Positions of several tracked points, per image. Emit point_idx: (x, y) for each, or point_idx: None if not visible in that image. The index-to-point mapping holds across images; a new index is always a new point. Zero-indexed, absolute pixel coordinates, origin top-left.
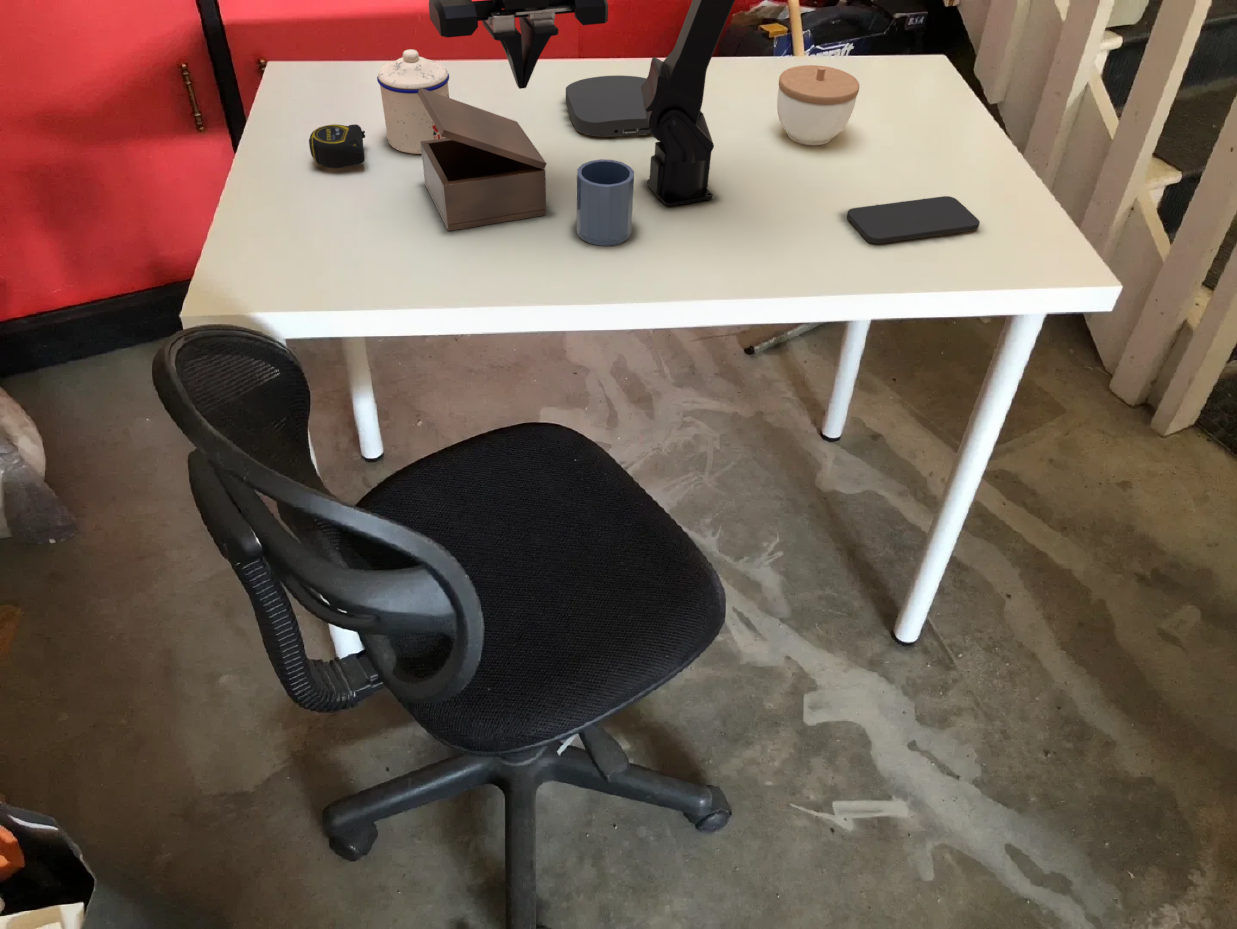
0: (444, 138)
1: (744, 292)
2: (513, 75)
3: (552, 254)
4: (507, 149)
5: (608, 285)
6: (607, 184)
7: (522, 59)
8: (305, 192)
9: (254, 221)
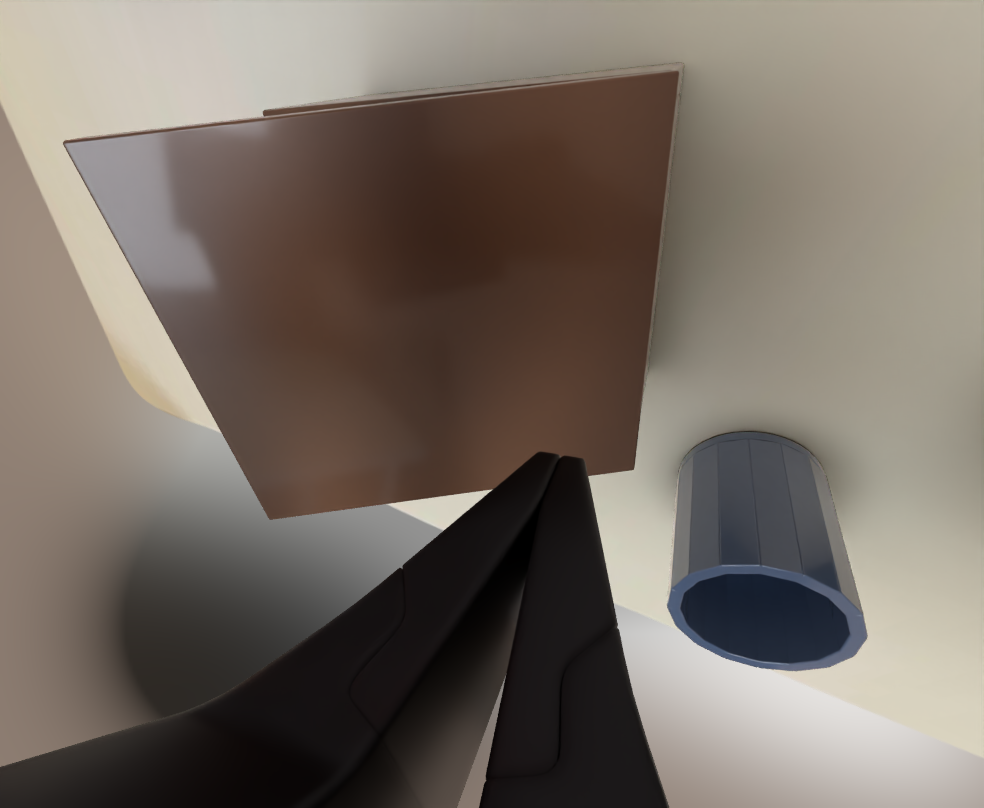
0: (341, 107)
1: (867, 701)
2: (503, 482)
3: (595, 492)
4: (493, 480)
5: (649, 588)
6: (722, 649)
7: (479, 741)
8: (94, 50)
9: (72, 174)
